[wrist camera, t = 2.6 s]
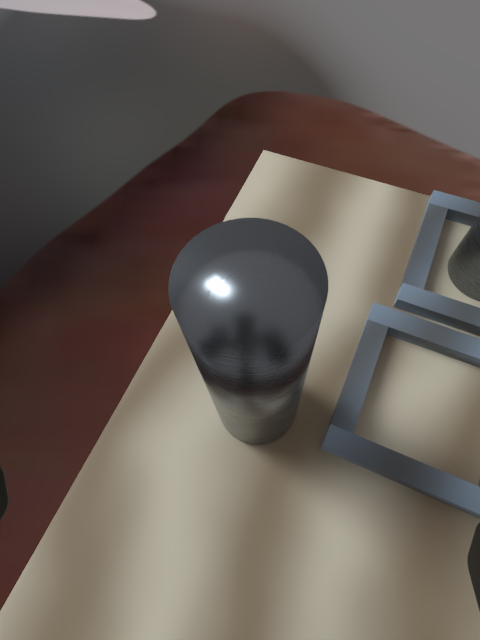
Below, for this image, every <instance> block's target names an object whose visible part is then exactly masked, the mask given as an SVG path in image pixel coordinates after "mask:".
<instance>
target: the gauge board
mask: <svg viewBox="0 0 480 640" xmlns="http://www.w3.org/2000/svg"><path fill="white" fill-rule="evenodd" d="M479 214H480V203H479V202H476V201H472V200H469V199H465V198H461V197H458V196H454V195H450V194H447V193H443V192H439V191H436V190H434V191H433V193H432V195H431V196H428V195H424V194H420V193H417V192H413V191H410V190H406V189H402V188H399V187H395V186H392V185H388V184H384V183H381V182H377V181H374V180H370V179H366V178H363V177H359V176H355V175H352V174H348V173H345V172H341V171H337V170H334V169H330V168H327V167H323V166H319V165H316V164H312V163H309V162H305V161H301V160H298V159H294V158H291V157H287V156H283V155H280V154H276V153H273V152H269V151H265V150H263V152H262V154H261V156H260V157H259V159H258V161H257V163H256V164H255V166H254V168H253V170H252V171H251V173H250V175H249V177H248V178H247V180H246V182H245V184H244V185H243V187H242V189H241V191H240V192H239V194H238V196H237V198H236V199H235V201H234V203H233V205H232V206H231V208H230V210H229V212H228V213H227V215H226V217H225V219H224V220H223V222H225V221H228V220H233V219H238V218H262V219H269V220H273V221H277V222H280V223H282V224H285V225H287V226H289V227H291V228H293V229H295V230H296V231H298V232H299V233H301V234H302V235H304V236H305V237H306V238H307V239H308V240H309V241H310V242H311V243H312V244H313V245H314V246H315V248H316V249H317V251H318V252H319V254H320V255H321V257H322V259H323V261H324V264H325V267H326V270H327V275H328V295H327V300H326V304H325V308H324V312H323V315H322V319H321V323H320V327H319V330H318V334H317V338H316V341H315V345H314V349H313V353H312V356H311V360H310V364H309V368H308V371H307V375H306V379H305V382H304V386H303V390H302V394H301V397H300V401H299V405H298V409H297V412H296V416H295V419H294V422H293V424H292V426H291V427H290V429H289V430H288V431H287V432H286V434H284V435H283V436H282V437H281V438H279V439H278V440H276V441H274V442H271V443H268V444H264V445H251V444H247V443H244V442H241V441H240V440H238V439H236V438H235V437H233V436H232V435H231V434H230V433H229V432H228V431H227V430H226V428H225V427H224V425H223V423H222V421H221V419H220V416H219V414H218V412H217V410H216V407H215V405H214V403H213V401H212V398H211V396H210V394H209V392H208V389H207V387H206V385H205V382H204V380H203V378H202V376H201V373H200V371H199V369H198V367H197V364H196V362H195V360H194V358H193V355H192V353H191V351H190V349H189V346H188V344H187V342H186V339H185V337H184V335H183V333H182V330H181V328H180V326H179V324H178V321H177V319H176V317H175V315H174V312H173V310H172V312H171V313H170V315H169V317H168V319H167V320H166V322H165V324H164V326H163V327H162V329H161V331H160V333H159V334H158V336H157V338H156V340H155V341H154V343H153V345H152V347H151V348H150V350H149V352H148V354H147V355H146V357H145V359H144V361H143V362H142V364H141V366H140V368H139V369H138V371H137V373H136V375H135V376H134V378H133V380H132V382H131V383H130V385H129V387H128V389H127V390H126V392H125V394H124V396H123V397H122V399H121V401H120V403H119V404H118V406H117V408H116V410H115V411H114V413H113V415H112V417H111V418H110V420H109V422H108V424H107V425H106V427H105V429H104V431H103V432H102V434H101V436H100V438H99V439H98V441H97V443H96V445H95V446H94V448H93V450H92V452H91V453H90V455H89V457H88V459H87V460H86V462H85V464H84V466H83V467H82V469H81V471H80V473H79V474H78V476H77V478H76V480H75V481H74V483H73V485H72V487H71V488H70V490H69V492H68V494H67V495H66V497H65V499H64V501H63V502H62V504H61V506H60V508H59V509H58V511H57V513H56V515H55V516H54V518H53V520H52V522H51V523H50V525H49V527H48V529H47V530H46V532H45V534H44V536H43V537H42V539H41V541H40V543H39V544H38V546H37V548H36V550H35V551H34V553H33V555H32V557H31V559H30V560H29V562H28V564H27V566H26V567H25V569H24V571H23V573H22V574H21V576H20V578H19V580H18V581H17V583H16V585H15V587H14V588H13V590H12V592H11V594H10V595H9V597H8V599H7V601H6V602H5V604H4V606H3V608H2V609H1V611H0V640H480V612H479V608H478V604H477V600H476V597H475V593H474V589H473V585H472V582H471V578H470V574H469V570H468V564H467V557H468V552H469V549H470V545H471V542H472V539H473V535H474V532H475V529H476V526H477V524H478V523H479V522H480V301H477V300H474V299H472V298H470V297H468V296H466V295H464V294H463V293H462V292H460V291H459V290H458V289H457V288H456V287H455V285H454V284H453V283H452V281H451V279H450V277H449V274H448V261H449V258H450V256H451V255H452V253H453V252H454V250H455V249H456V248H457V246H458V245H459V243H460V242H461V240H462V239H463V237H464V236H465V235H466V233H467V232H468V230H469V229H470V227H471V226H472V224H473V223H474V222H475V220H476V219H477V217H478V216H479Z"/></svg>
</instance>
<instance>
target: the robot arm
mask: <svg viewBox="0 0 480 640" xmlns="http://www.w3.org/2000/svg"><path fill="white" fill-rule="evenodd" d="M8 503H9V495H8V490H7V485H6V480H5V475H4V470H3V469H2V467H1V466H0V521H1V519H2V517H3V516H4V514H5V512H6V510H7V507H8ZM467 564H468V570H469V574H470V578H471V582H472V585H473V589H474V593H475V597H476V600H477V604H478V608H479V612H480V522H479V523H478V524H477V526H476V529H475V532H474V535H473V539H472V542H471V545H470V549H469V552H468V557H467Z"/></svg>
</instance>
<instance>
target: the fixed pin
mask: <svg viewBox="0 0 480 640" xmlns="http://www.w3.org/2000/svg"><path fill="white" fill-rule="evenodd" d="M448 274H449V277H450V279H451V281H452V283H453V284H454V285H455V287H456V288H457V289H458V290H459V291H460V292H462V293H463V294H464V295H466V296H468V297H470V298H472V299H474V300H477V301H480V214H479V216H478V217H477V219H476V220H475V222H474V223H473V224H472V226H471V227H470V229H469V230H468V232H467V233H466V235H465V236H464V237H463V239H462V240H461V242H460V243H459V245H458V246H457V248H456V249H455V250H454V252H453V253H452V255H451V256H450V258H449V261H448Z"/></svg>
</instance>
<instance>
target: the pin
mask: <svg viewBox="0 0 480 640" xmlns="http://www.w3.org/2000/svg"><path fill="white" fill-rule="evenodd" d="M168 291H169V300H170V304H171V307H172V310H173V312H174V315H175V317H176V319H177V321H178V324H179V326H180V328H181V330H182V333H183V335H184V337H185V339H186V342H187V344H188V346H189V349H190V351H191V353H192V355H193V358H194V360H195V362H196V364H197V367H198V369H199V371H200V373H201V376H202V378H203V380H204V382H205V385H206V387H207V389H208V392H209V394H210V396H211V398H212V401H213V403H214V405H215V407H216V410H217V412H218V414H219V416H220V419H221V421H222V423H223V425H224V427H225V428H226V430H227V431H228V432H229V433H230V434H231V435H232V436H233V437H235V438H236V439H238V440H240V441H241V442H244V443H247V444H251V445H264V444H268V443H271V442H274V441H276V440H278V439H279V438H281V437H282V436H283V435H284V434H286V432H287V431H288V430H289V429H290V427H291V426H292V424H293V422H294V419H295V416H296V412H297V409H298V405H299V401H300V397H301V394H302V390H303V386H304V382H305V379H306V375H307V371H308V368H309V364H310V360H311V356H312V353H313V349H314V345H315V341H316V338H317V334H318V330H319V327H320V323H321V319H322V315H323V312H324V308H325V304H326V300H327V295H328V275H327V270H326V267H325V264H324V261H323V259H322V257H321V255H320V254H319V252H318V251H317V249H316V248H315V246H314V245H313V244H312V243H311V242H310V241H309V240H308V239H307V238H306V237H305V236H304V235H302V234H301V233H299V232H298V231H296V230H295V229H293V228H291V227H289V226H287V225H285V224H282V223H280V222H277V221H273V220H269V219H262V218H238V219H233V220H228V221H225V222H221V223H218V224H216V225H213V226H211V227H209V228H207V229H206V230H204V231H202V232H201V233H199V234H198V235H196V236H195V237H194V238H193V239H192V240H191V241H189V242H188V243H187V245H186V246H185V247H184V248H183V249H182V251H181V252H180V253H179V255H178V256H177V258H176V260H175V262H174V264H173V267H172V270H171V273H170V278H169V289H168Z"/></svg>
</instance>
